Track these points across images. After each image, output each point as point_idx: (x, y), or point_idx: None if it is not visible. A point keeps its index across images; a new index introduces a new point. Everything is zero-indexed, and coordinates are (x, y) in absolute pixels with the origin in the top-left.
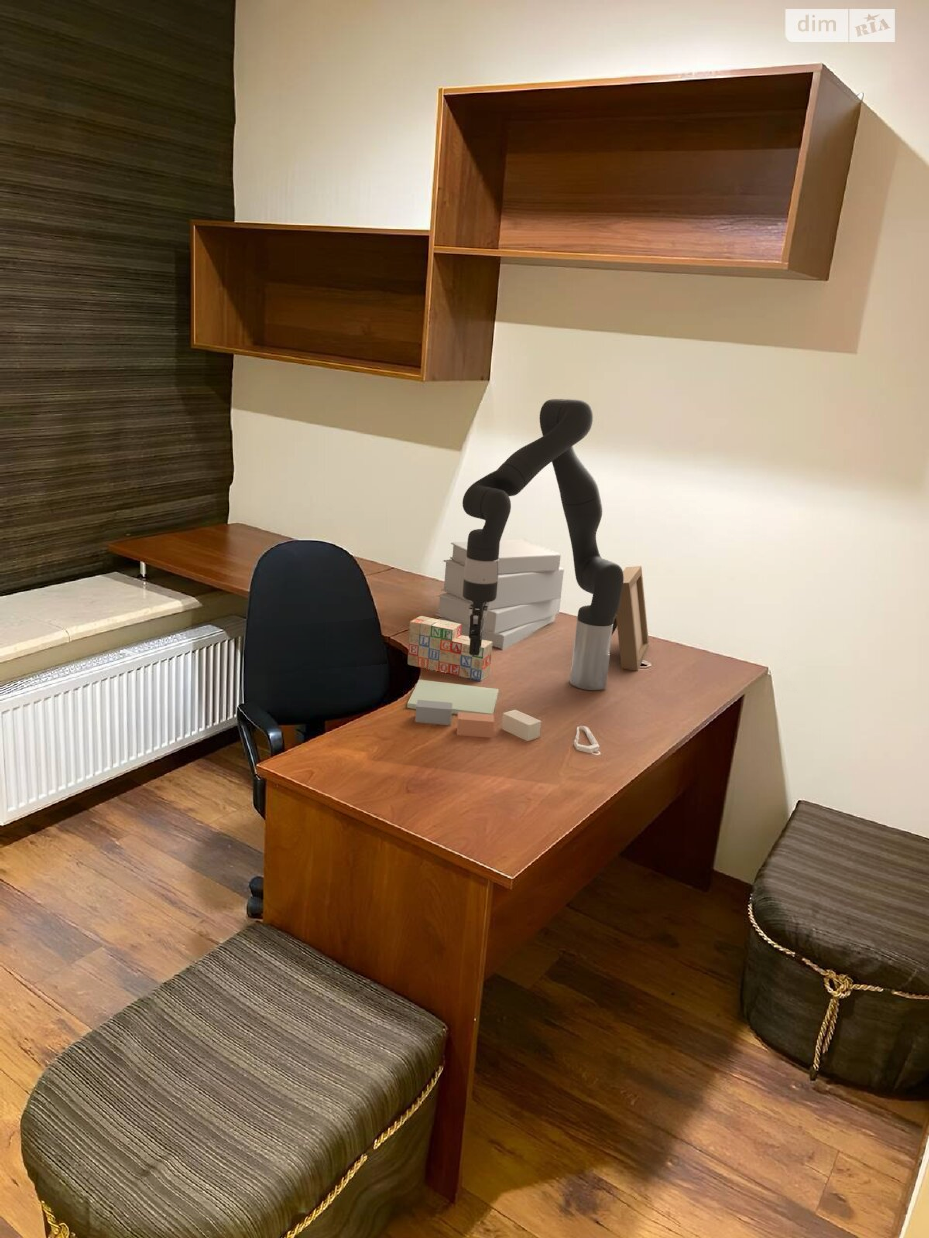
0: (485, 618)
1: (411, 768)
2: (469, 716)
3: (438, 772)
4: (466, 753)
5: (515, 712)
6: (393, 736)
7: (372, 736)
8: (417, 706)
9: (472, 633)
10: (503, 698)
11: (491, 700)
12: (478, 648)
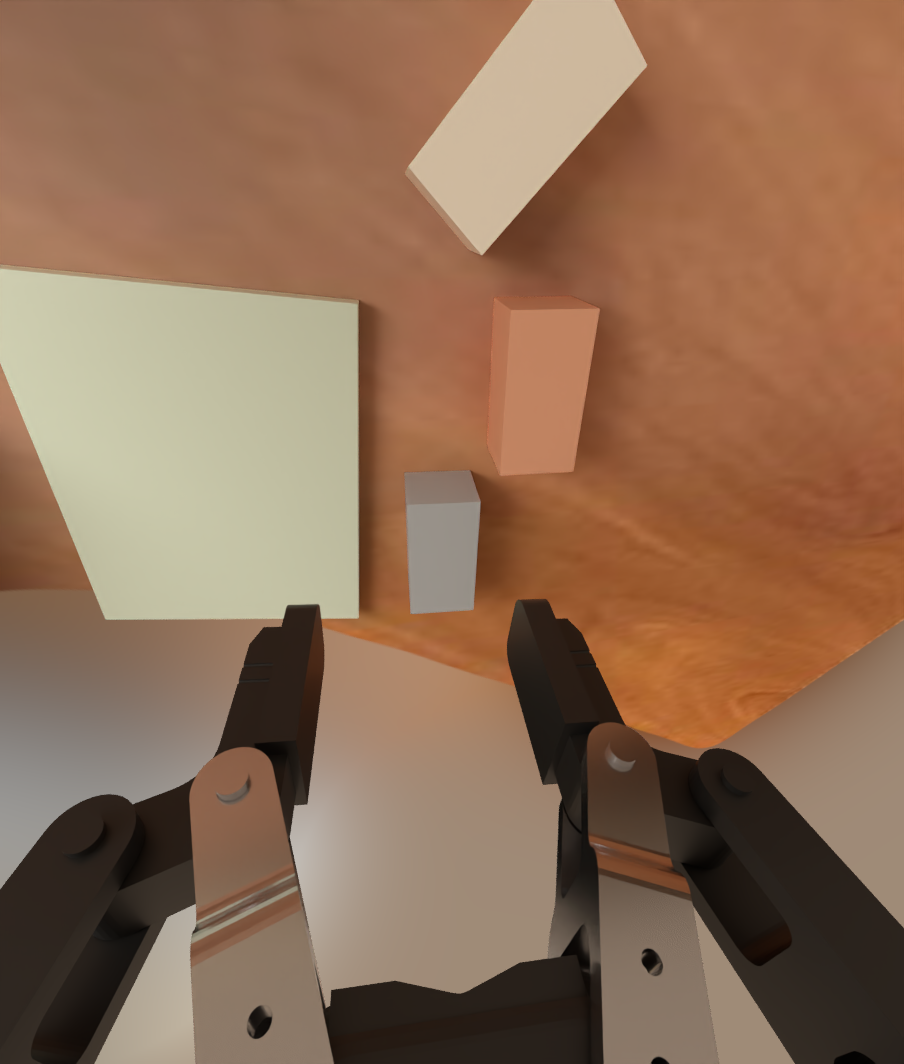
0: (322, 1020)
1: (775, 539)
2: (544, 427)
3: (818, 472)
4: (706, 398)
5: (458, 165)
6: (575, 605)
7: None
8: (472, 606)
9: (713, 865)
10: (37, 227)
11: (175, 310)
12: (561, 647)
